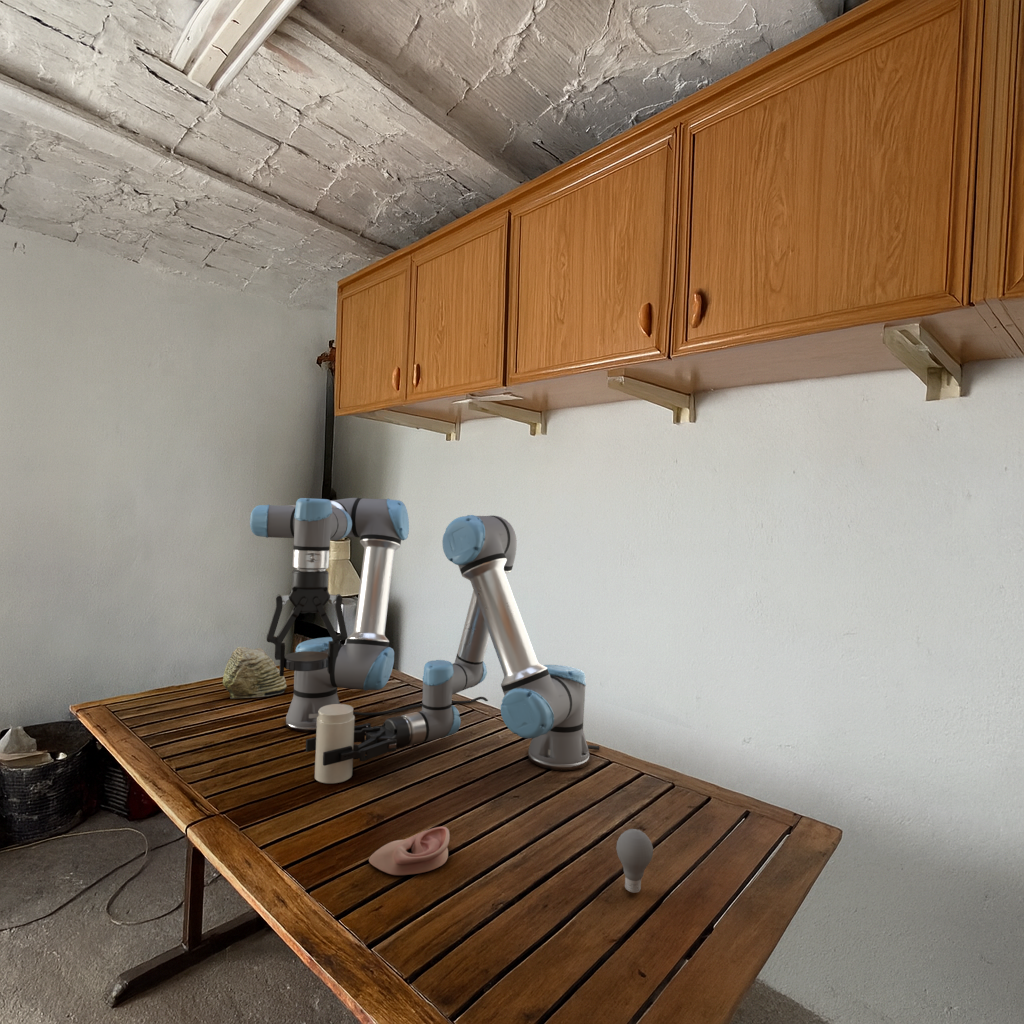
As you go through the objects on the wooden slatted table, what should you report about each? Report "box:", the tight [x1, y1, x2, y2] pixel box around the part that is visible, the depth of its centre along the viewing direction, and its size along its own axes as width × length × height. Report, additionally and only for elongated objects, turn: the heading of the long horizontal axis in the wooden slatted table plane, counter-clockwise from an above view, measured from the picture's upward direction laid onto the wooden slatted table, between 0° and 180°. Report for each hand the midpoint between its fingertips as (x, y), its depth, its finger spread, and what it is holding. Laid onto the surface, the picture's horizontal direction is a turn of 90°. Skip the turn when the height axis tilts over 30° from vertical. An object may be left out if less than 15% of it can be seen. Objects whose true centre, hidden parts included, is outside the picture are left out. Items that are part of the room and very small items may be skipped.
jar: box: [313, 703, 356, 784], centre depth 144 cm, size 8×8×15 cm
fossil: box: [222, 646, 288, 699], centre depth 198 cm, size 9×18×15 cm, turn 132°
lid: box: [284, 651, 329, 671], centre depth 137 cm, size 9×9×2 cm
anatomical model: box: [368, 826, 451, 876], centre depth 112 cm, size 13×4×12 cm
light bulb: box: [615, 828, 654, 894], centre depth 106 cm, size 6×6×10 cm
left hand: (305, 673), depth 137 cm, fingers closed on lid, 9 cm apart
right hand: (315, 752), depth 141 cm, fingers closed on jar, 8 cm apart
